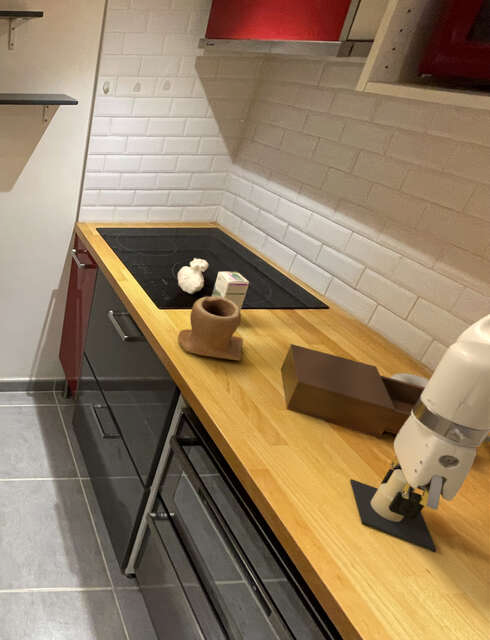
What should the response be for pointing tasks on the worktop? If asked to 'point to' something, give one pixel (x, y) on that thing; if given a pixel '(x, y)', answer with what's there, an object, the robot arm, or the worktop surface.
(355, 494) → the mat
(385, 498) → the cream stepped cylinder
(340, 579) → the worktop surface
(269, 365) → the worktop surface
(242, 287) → the syrup box
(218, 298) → the stone cup
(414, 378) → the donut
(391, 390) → the drawer
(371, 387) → the cabinet
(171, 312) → the worktop surface
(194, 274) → the white lumpy blob
